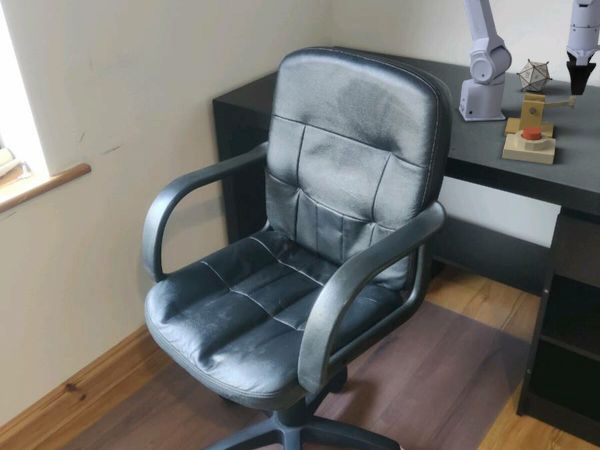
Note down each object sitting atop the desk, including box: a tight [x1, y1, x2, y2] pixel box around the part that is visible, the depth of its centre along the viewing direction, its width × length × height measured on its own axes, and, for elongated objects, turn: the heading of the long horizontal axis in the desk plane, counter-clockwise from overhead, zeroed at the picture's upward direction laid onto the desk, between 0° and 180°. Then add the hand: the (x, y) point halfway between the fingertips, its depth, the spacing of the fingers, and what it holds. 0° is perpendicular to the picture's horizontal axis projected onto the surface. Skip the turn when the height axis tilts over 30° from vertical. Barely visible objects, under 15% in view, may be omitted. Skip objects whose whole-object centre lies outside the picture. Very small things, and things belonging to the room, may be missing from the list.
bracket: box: [503, 93, 555, 139], centre depth 139 cm, size 10×8×8 cm
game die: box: [515, 58, 554, 95], centre depth 160 cm, size 9×8×10 cm
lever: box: [530, 95, 576, 111], centre depth 137 cm, size 10×6×2 cm, turn 68°
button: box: [522, 127, 542, 141], centre depth 130 cm, size 4×4×2 cm
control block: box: [501, 130, 557, 165], centre depth 131 cm, size 10×8×4 cm
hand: (576, 88), depth 133 cm, fingers open, 7 cm apart
